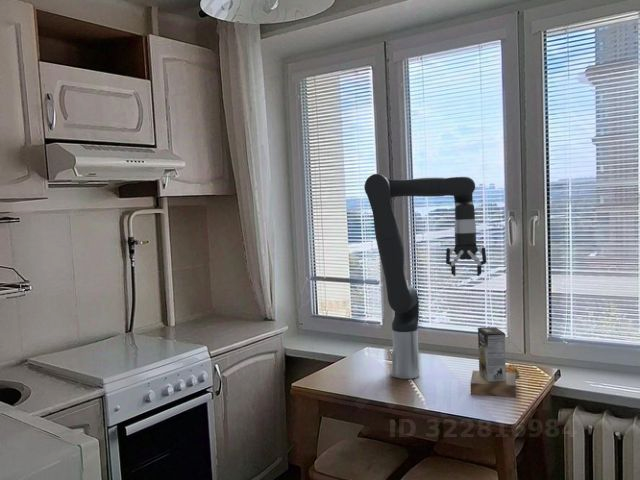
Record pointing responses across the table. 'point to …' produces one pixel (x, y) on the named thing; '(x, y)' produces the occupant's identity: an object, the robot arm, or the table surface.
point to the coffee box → (491, 354)
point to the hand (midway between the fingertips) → (466, 275)
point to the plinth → (493, 386)
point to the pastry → (512, 369)
